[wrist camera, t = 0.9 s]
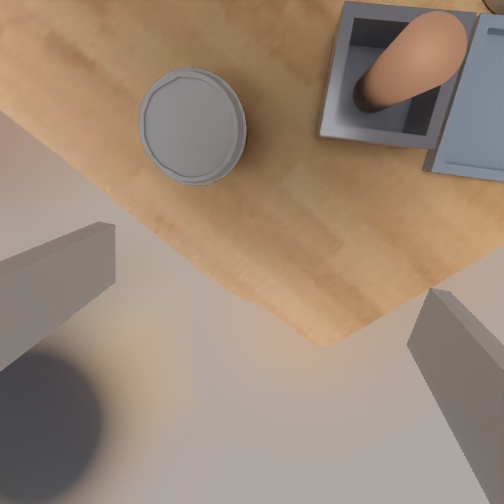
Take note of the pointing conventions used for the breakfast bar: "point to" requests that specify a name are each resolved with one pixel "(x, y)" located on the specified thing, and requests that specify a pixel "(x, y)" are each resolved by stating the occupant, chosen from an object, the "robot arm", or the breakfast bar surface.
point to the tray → (475, 109)
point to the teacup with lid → (496, 6)
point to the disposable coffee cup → (193, 126)
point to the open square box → (359, 61)
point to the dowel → (413, 62)
